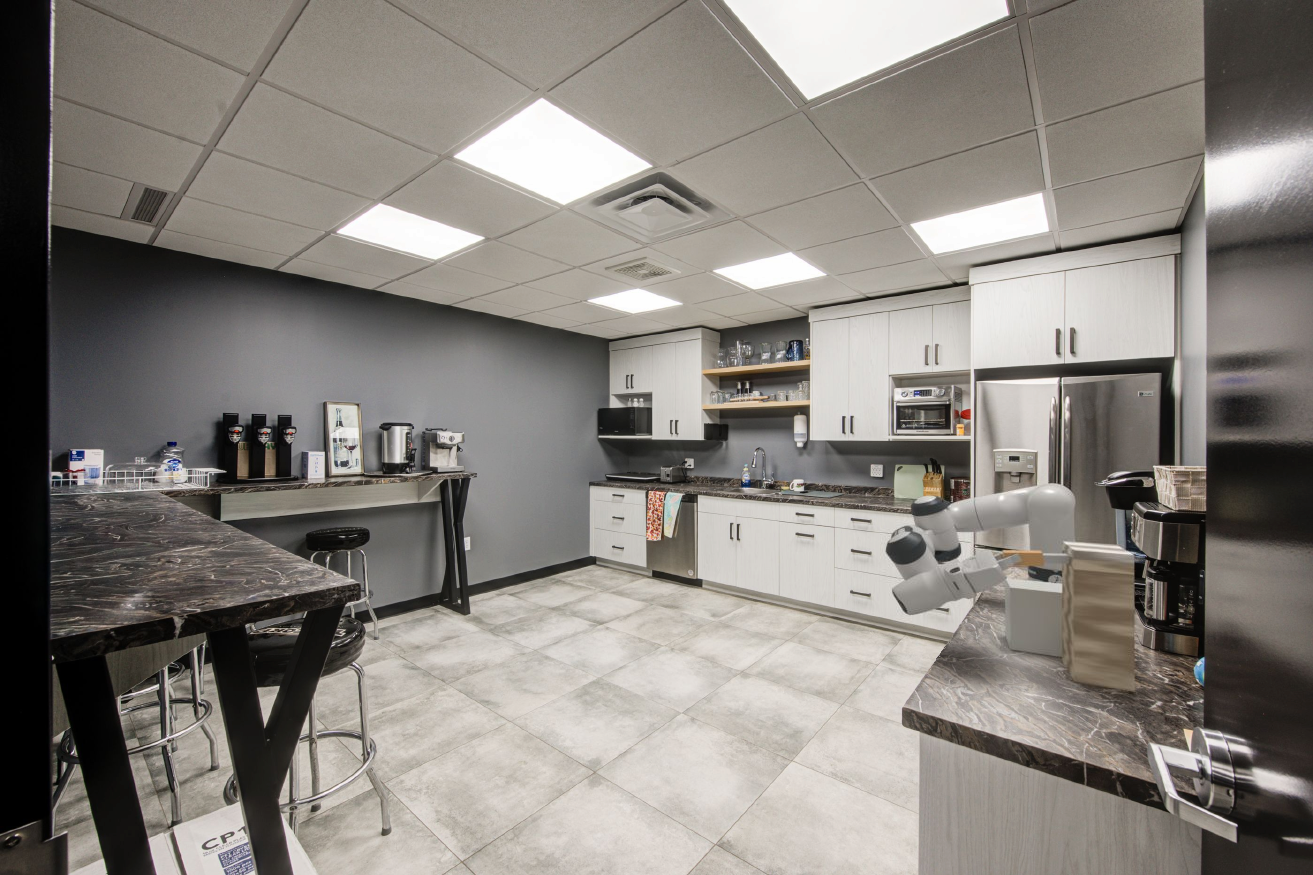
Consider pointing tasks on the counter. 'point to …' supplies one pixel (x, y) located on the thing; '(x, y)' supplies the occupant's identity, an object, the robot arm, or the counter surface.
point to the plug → (1037, 557)
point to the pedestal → (1033, 616)
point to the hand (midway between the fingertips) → (1018, 554)
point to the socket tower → (1098, 615)
